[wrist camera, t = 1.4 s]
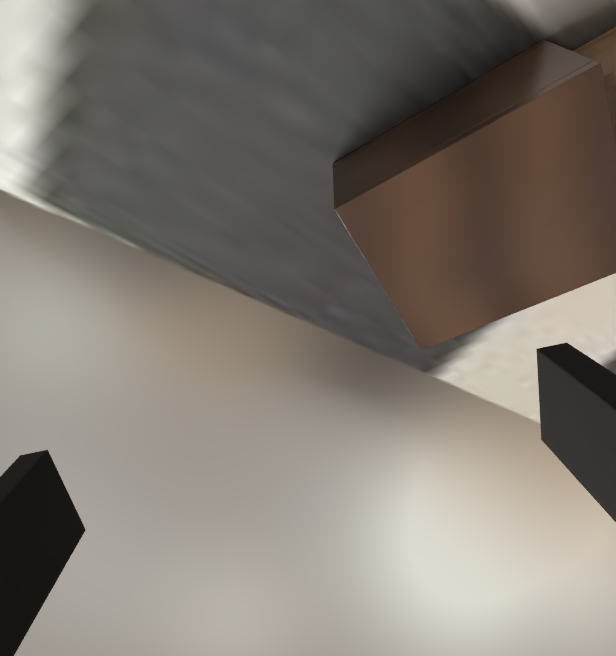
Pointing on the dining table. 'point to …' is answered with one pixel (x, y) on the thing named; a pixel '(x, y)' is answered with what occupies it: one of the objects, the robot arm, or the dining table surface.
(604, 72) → the drawer
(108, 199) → the dining table surface
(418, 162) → the cabinet
